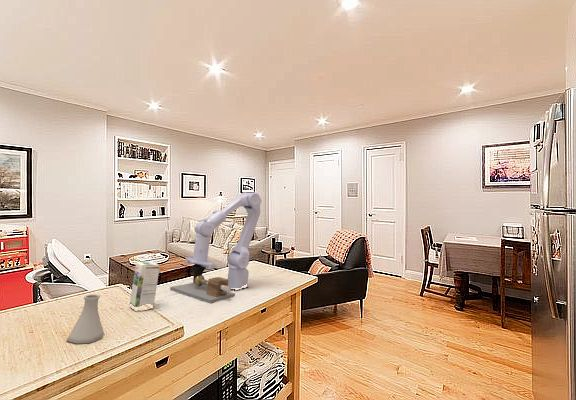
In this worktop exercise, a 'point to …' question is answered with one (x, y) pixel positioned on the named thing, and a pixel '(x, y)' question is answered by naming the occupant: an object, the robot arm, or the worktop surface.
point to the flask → (88, 322)
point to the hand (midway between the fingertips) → (196, 283)
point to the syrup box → (144, 283)
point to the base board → (199, 292)
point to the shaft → (201, 281)
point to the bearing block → (216, 286)
